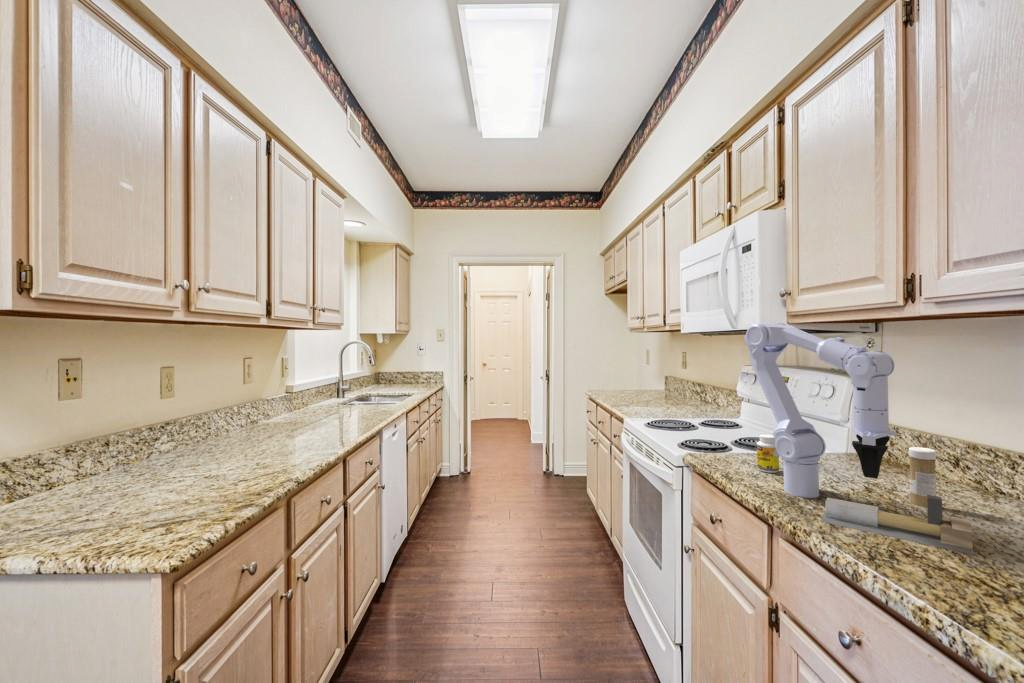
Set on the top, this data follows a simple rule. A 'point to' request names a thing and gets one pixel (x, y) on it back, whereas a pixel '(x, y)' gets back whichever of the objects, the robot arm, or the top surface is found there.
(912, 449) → the sprinkles bottle
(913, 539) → the base board
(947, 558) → the top surface
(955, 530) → the socket block
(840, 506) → the outer sleeve
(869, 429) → the robot arm
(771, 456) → the supplement bottle
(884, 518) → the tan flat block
